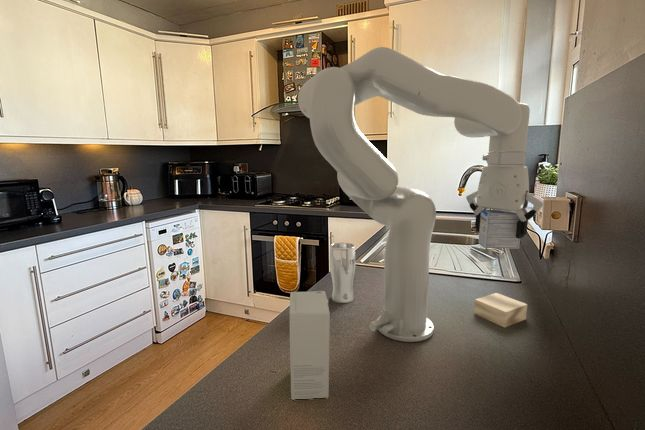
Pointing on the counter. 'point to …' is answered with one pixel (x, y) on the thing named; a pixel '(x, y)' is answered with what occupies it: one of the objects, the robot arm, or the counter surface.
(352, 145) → the robot arm
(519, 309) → the oak block
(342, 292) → the beer glass
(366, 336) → the counter surface
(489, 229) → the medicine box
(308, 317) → the skincare box
